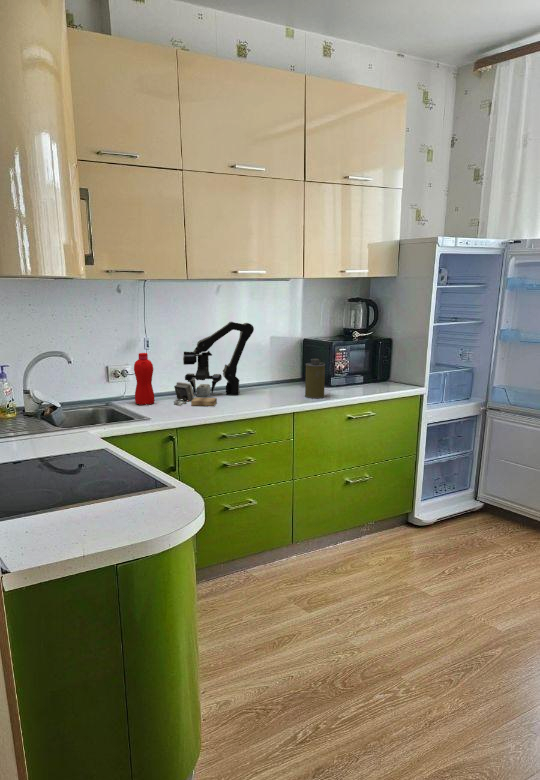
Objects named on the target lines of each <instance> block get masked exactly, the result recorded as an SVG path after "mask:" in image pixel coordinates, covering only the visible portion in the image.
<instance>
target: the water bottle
mask: <svg viewBox="0 0 540 780" xmlns="http://www.w3.org/2000/svg"><path fill="white" fill-rule="evenodd" d="M148 356H149V355H148V353H146V352H139V353H138V359H137V360H136V361H135V362H134V364H133V371H134V375H135V379H136V386H135V390H134V391H135V392H134V401H135V404H137V405H138V404H139V405H138V406H143V405H146V404H147V405H153V404H154V403H155V393H154V387H153V384H152V381H153V375H154V364H153V363H152V361H151V360H150V359H149V358H148Z"/></svg>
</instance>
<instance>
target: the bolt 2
mask: <svg viewBox="0 0 540 780" xmlns="http://www.w3.org/2000/svg"><path fill="white" fill-rule="evenodd" d="M176 401H177V403H180V404H182V405H186V404H187V401H179V400H176Z"/></svg>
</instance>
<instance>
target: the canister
mask: <svg viewBox="0 0 540 780" xmlns="http://www.w3.org/2000/svg"><path fill="white" fill-rule="evenodd" d="M325 377H326V363H325V362H321V361H320V359H319V358H311V359H310V362H307V363H305V381H304V383H305V384H304V385H305V389H304V391H305V392H304V397H305V398H307V399H324V398H325V381H326V378H325Z"/></svg>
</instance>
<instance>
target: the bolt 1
mask: <svg viewBox="0 0 540 780" xmlns="http://www.w3.org/2000/svg"><path fill="white" fill-rule="evenodd" d="M177 401H178V400H174V401H173V405H174V406H180V407H182V406H183V404H180V403H177ZM175 404H176V405H175ZM181 405H182V406H181Z"/></svg>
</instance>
